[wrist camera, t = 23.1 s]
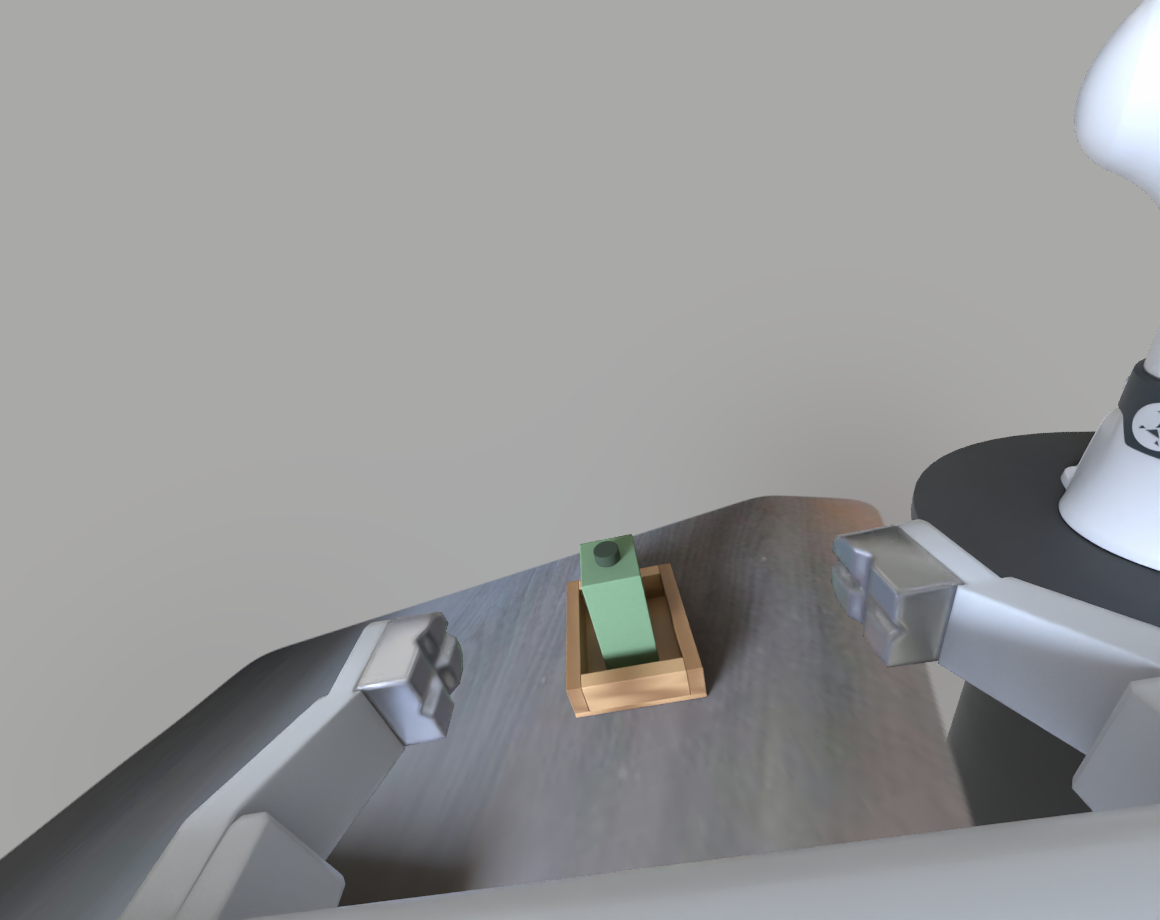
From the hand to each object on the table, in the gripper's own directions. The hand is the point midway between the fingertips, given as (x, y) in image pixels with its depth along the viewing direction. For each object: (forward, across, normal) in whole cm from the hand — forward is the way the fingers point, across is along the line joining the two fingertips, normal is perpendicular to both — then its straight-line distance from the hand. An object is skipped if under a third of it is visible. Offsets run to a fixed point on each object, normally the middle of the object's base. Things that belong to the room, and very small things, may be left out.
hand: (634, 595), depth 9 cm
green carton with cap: (+19, +2, +25) cm, 32 cm away
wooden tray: (+19, +2, +26) cm, 32 cm away
